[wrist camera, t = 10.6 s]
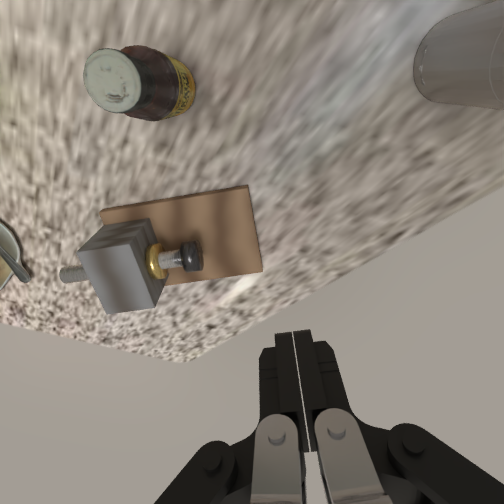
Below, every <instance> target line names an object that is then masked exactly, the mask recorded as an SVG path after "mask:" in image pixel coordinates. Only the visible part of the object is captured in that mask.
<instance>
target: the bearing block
mask: <svg viewBox="0 0 504 504" xmlns="http://www.w3.org/2000/svg"><path fill="white" fill-rule="evenodd" d="M99 214H100V217H101V219H102V221H103V224H104V226H103V227H102V228H101V229H100V230H99V231H98V232H97V233H96V234H95V235H94V236H92V237H91V238H90V239H89V240H88V241H87V242H86V243H85V244H84V245H83V246H82V247H81V248H80V249H79V250H78V251H77V252H76V253H77V255H78V257H79V259H80V261H81V264H82V266H83V268H84V270H85V272H86V274H87V276H88V278H89V280H90V282H91V284H92V286H93V288H94V290H95V292H96V294H97V296H98V298H99V300H100V302H101V304H102V306H103V308H104V310H105V312H106V314H114V313H121V312H128V311H135V310H143V309H150V308H155V306H156V304H157V302H158V299H159V297H160V295H161V292H162V290H163V288H164V286H167V285H174V284H181V283H188V282H195V281H202V280H209V279H216V278H223V277H230V276H237V275H244V274H251V273H258V272H263V267H262V261H261V256H260V250H259V245H258V239H257V234H256V228H255V222H254V217H253V211H252V206H251V200H250V195H249V189H248V185H245V186H239V187H233V188H227V189H221V190H215V191H209V192H203V193H196V194H190V195H184V196H178V197H172V198H166V199H160V200H154V201H148V202H142V203H136V204H130V205H124V206H118V207H112V208H106V209H103V210H101V211H100V212H99ZM191 240H198V241H199V242H200V244H201V247H202V251H203V258H204V267H203V270H202V271H196V272H189V273H187V272H185V270H184V268H183V266H181V267H174V268H168V273H167V276H166V277H165V278H163V279H156V280H155V279H153V278H152V277H151V276H150V274H149V272H148V269H147V265H146V261H145V256H146V249H147V247H148V246H149V245H151V244H158V243H160V244H161V245H162V246H163V247H164V249H165V251H173V250H180V246H181V243H182V242H185V241H191Z"/></svg>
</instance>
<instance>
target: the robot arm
mask: <svg viewBox="0 0 504 504" xmlns="http://www.w3.org/2000/svg"><path fill="white" fill-rule="evenodd" d="M414 79H415V83H416V86H417V87H418V89H419V91H420V92H421V93H422V94H423V96H424V97H426V98H428V99H429V100H432V101H435V102H441V103H450V104H457V105H466V106H475V107H484V108H492V109H501V110H504V0H497V1H494V2H491V3H488V4H485V5H482V6H479V7H475V8H472V9H469V10H466V11H463V12H460V13H457V14H454V15H452V16H449V17H447V18H445V19H443V20H442V21H441V22H439V23H438V24H436V25H435V26H434V27H433V28H432V29H431V30H430V31H429V32H428V34H427V35H426V36H425V38H424V39H423V41H422V43H421V45H420V46H419V48H418V51H417V54H416V57H415V62H414ZM293 334H294V341H295V348H296V355H297V361H298V367H299V374H300V381H301V388H302V394H303V401H304V407H305V414H306V420H307V427H308V433H309V439H310V446H311V452H314V451H317V454H318V460H319V465H320V474H321V479H322V483H323V487H324V492H325V496H326V500H327V504H504V484H502V483H501V482H499V481H498V480H496V479H495V478H494V477H492V476H491V475H489V474H488V473H486V472H485V471H483V470H482V469H480V468H479V467H478V466H476V465H475V464H473V463H472V462H471V461H469V460H468V459H466V458H465V457H463V456H462V455H461V454H459V453H458V452H456V451H455V450H453V449H452V448H451V447H449V446H448V445H446V444H445V443H443V442H442V441H440V440H439V439H437V438H436V437H435V436H433V435H432V434H430V433H429V432H428V431H426V430H425V429H423V428H421V427H419V426H417V425H414V424H409V423H403V424H399V425H396V426H394V427H393V428H392V429H391V430H386V429H382V428H377V427H373V426H370V425H367V424H365V423H364V422H362V421H361V420H359V419H358V418H357V417H356V416H355V415H354V413H353V412H352V410H351V408H350V406H349V402H348V399H347V395H346V392H345V388H344V385H343V382H342V378H341V375H340V372H339V368H338V365H337V362H336V358H335V354H334V351H333V349H332V348H331V347H330V345H329V344H328V343H327V342H326V341H318V342H313V339H312V335H311V331H310V329H309V330H301V331H293ZM259 380H260V381H259V391H260V419H259V423H258V426H257V428H256V429H255V430H254V432H253V433H252V434H251V435H250V436H248V437H247V438H246V439H244V440H242V441H240V442H237V443H235V444H233V445H231V446H229V445H228V444H227V443H225V442H222V441H212V442H209V443H207V444H205V445H203V446H202V447H201V448H200V449H199V450H198V452H196V454H195V455H194V456H193V457H192V459H191V460H190V461H189V462H188V463H187V465H186V466H185V467H184V468H183V469H182V470H181V472H180V473H179V474H178V475H177V477H176V478H175V479H174V480H173V481H172V482H171V484H170V485H169V486H168V487H167V489H166V490H165V491H164V492H163V493H162V495H161V496H160V497H159V498H158V499H157V501H156V502H155V503H154V504H307V494H306V478H305V477H306V466H305V458H304V452H309V446H308V439H307V432H306V425H305V420H304V413H303V406H302V398H301V392H300V386H299V378H298V371H297V365H296V358H295V352H294V345H293V338H292V332H285V333H277V334H275V347H270V348H264V349H263V351H262V353H261V355H260V357H259Z"/></svg>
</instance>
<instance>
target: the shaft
mask: <svg viewBox="0 0 504 504" xmlns="http://www.w3.org/2000/svg"><path fill="white" fill-rule="evenodd" d="M145 261H146V265H147V269H148V272H149V274H150V276H151V277H152V278H153V279H155V280H156V279H163V278H165V277H166V276H167V273H168V268H174V267H181V266H183V268H184V270H185V272H187V273H189V272H196V271H202V270H203V267H204V258H203V251H202V247H201V244H200V242H199V241H198V240H191V241H185V242H182V243H181V246H180V250H173V251H165V249H164V247H163V246H162V245H161V244H160V243H158V244H151V245H149V246H148V247H147V249H146V256H145ZM60 279H61V281H62V282H63V283H73V282H80V281H86V280H89V278H88V276H87V274H86V272H85V270H84V268H83V266H82V264H81V265H74V266H68V267H63V268H61V270H60Z"/></svg>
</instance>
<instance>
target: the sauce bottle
mask: <svg viewBox="0 0 504 504" xmlns="http://www.w3.org/2000/svg"><path fill="white" fill-rule="evenodd" d="M83 78H84V84H85V87H86V89H87V91H88V93H89V95H90V96H91V98H92V99H93V101H94V102H95V103H96V104H97V105H98V106H100V107H102V108H103V109H104V110H107V111H109V112H113V113H125V114H126V115H127V116H130V117H134V118H139V119H143V120H148V121H159V120H163V119H167V118H170V117H173V116H177V115H180V114H182V113H184V112H185V111H186V110H187V109H188V108H189V107H190V106H191V104H192V102H193V100H194V97H195V82H194V79H193V77H192V75H191V73H190V71H189V70H188V68H187V67H186V66H185V65H184V64H182V63H181V62H180V61H178V60H176V59H174V58H172V57H170V56H168V55H165V54H164V53H162V52H160V51H157V50H155V49H151V48H148V47H147V46H139V45H137V46H135V45H134V46H129V47H125V48H124V49H122V50H121V51H119V50H116V49H109V48H107V49H99V50H98V51H96V52H94V53H93V54H92V55H90V57H89V58H88V59H87V61H86V64H85V68H84V73H83Z"/></svg>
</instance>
